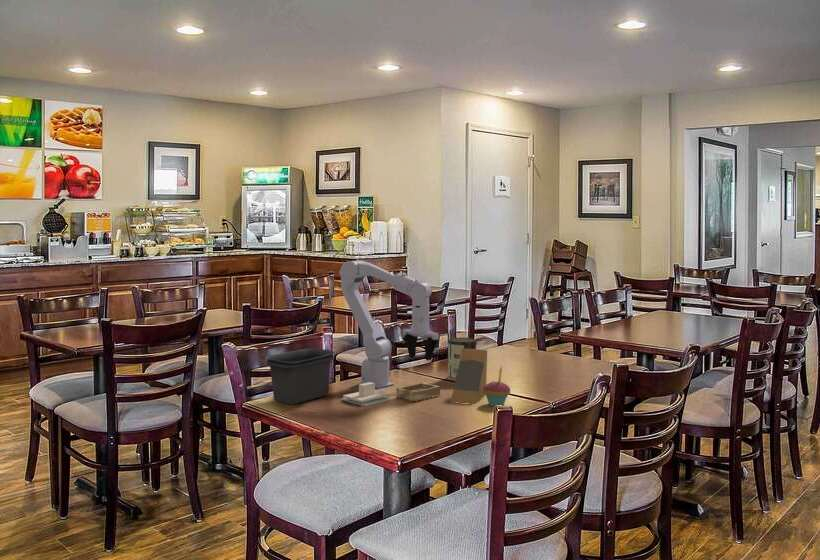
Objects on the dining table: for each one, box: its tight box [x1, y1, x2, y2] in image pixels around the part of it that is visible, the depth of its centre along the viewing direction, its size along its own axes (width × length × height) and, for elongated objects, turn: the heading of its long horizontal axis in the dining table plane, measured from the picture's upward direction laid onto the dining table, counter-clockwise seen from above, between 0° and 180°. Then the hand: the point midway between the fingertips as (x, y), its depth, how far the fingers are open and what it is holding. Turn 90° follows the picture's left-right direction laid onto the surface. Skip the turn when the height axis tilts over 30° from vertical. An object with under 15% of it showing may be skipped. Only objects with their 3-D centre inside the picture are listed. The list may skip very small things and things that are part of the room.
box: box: [395, 382, 441, 402], centre depth 240 cm, size 8×12×3 cm, turn 136°
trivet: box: [341, 396, 392, 407], centre depth 234 cm, size 11×11×1 cm
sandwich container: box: [450, 348, 488, 405], centre depth 237 cm, size 9×15×15 cm, turn 161°
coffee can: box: [447, 337, 478, 381], centre depth 267 cm, size 10×10×14 cm
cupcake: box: [483, 365, 511, 407], centre depth 230 cm, size 9×8×12 cm
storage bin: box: [265, 347, 336, 406], centre depth 236 cm, size 21×16×14 cm
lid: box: [342, 382, 392, 403], centre depth 234 cm, size 9×13×5 cm
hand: (420, 358), depth 250 cm, fingers open, 7 cm apart
